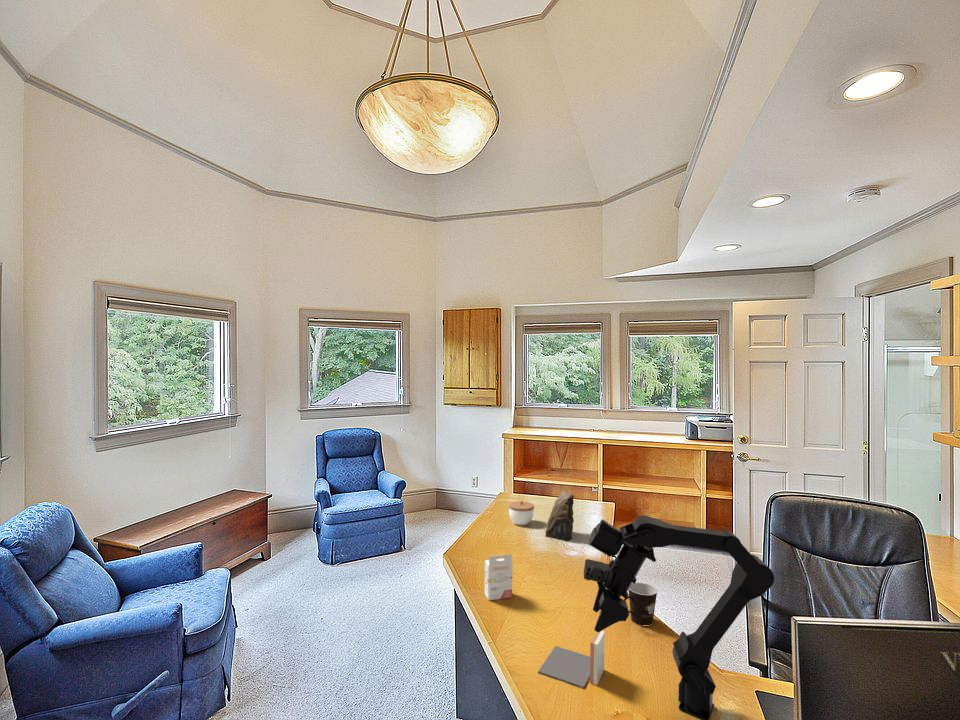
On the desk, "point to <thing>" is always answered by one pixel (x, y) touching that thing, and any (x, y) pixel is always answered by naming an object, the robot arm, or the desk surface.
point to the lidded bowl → (521, 512)
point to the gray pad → (567, 666)
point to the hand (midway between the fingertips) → (595, 620)
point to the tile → (597, 657)
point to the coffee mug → (642, 602)
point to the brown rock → (561, 518)
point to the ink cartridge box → (498, 577)
